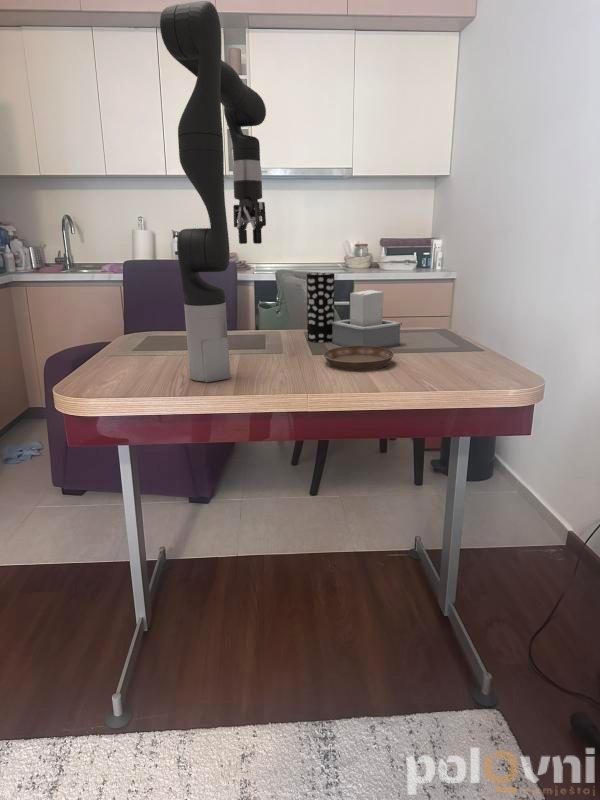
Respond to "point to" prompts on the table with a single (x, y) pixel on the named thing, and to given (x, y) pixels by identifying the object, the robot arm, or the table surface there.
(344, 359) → the plant saucer
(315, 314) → the white-spotted black cylinder
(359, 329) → the bin
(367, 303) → the skincare box
